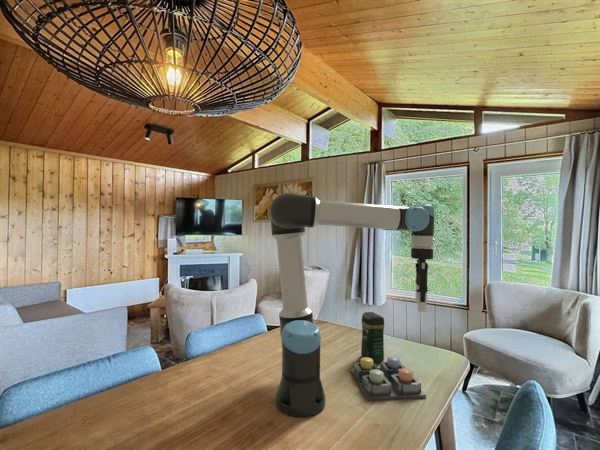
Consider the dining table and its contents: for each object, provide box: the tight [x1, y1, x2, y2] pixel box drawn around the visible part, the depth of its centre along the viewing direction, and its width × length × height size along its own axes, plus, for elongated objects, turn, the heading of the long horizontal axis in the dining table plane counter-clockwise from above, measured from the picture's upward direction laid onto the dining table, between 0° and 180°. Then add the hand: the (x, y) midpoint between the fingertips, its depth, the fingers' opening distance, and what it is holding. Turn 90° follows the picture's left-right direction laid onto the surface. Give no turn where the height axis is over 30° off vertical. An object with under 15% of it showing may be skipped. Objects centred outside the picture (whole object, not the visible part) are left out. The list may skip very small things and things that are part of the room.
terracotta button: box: [399, 368, 414, 383], centre depth 106 cm, size 4×4×3 cm
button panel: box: [350, 361, 427, 401], centre depth 110 cm, size 19×20×4 cm
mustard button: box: [360, 357, 373, 370], centre depth 114 cm, size 4×4×3 cm
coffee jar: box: [360, 311, 385, 364], centre depth 131 cm, size 10×8×19 cm
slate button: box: [386, 356, 401, 369], centre depth 116 cm, size 4×4×3 cm
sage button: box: [370, 369, 383, 384], centre depth 105 cm, size 4×4×3 cm
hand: (420, 306), depth 115 cm, fingers open, 13 cm apart
